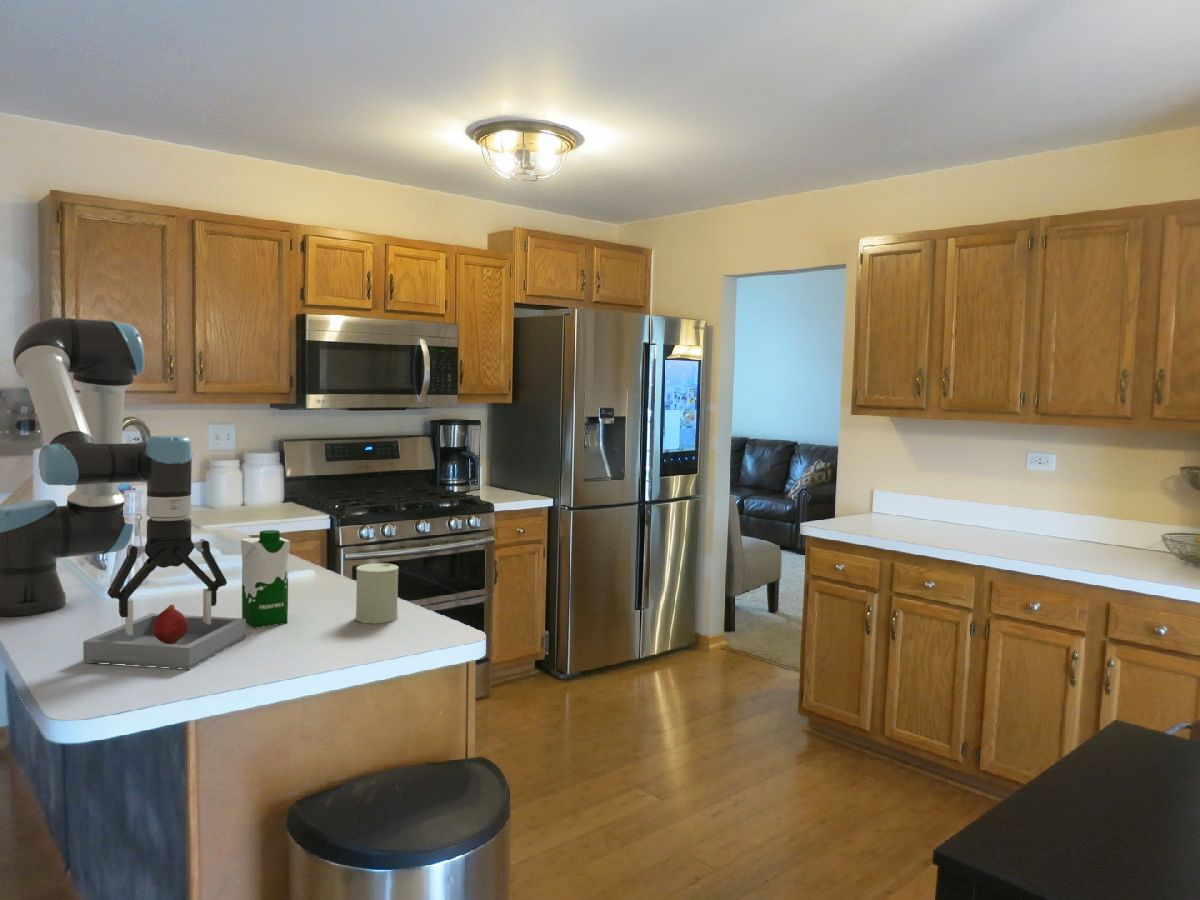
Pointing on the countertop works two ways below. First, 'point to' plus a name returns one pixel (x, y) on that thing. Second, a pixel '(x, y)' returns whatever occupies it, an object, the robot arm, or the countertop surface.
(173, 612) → the onion
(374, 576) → the can
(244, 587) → the milk carton
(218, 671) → the countertop surface
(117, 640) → the tray
